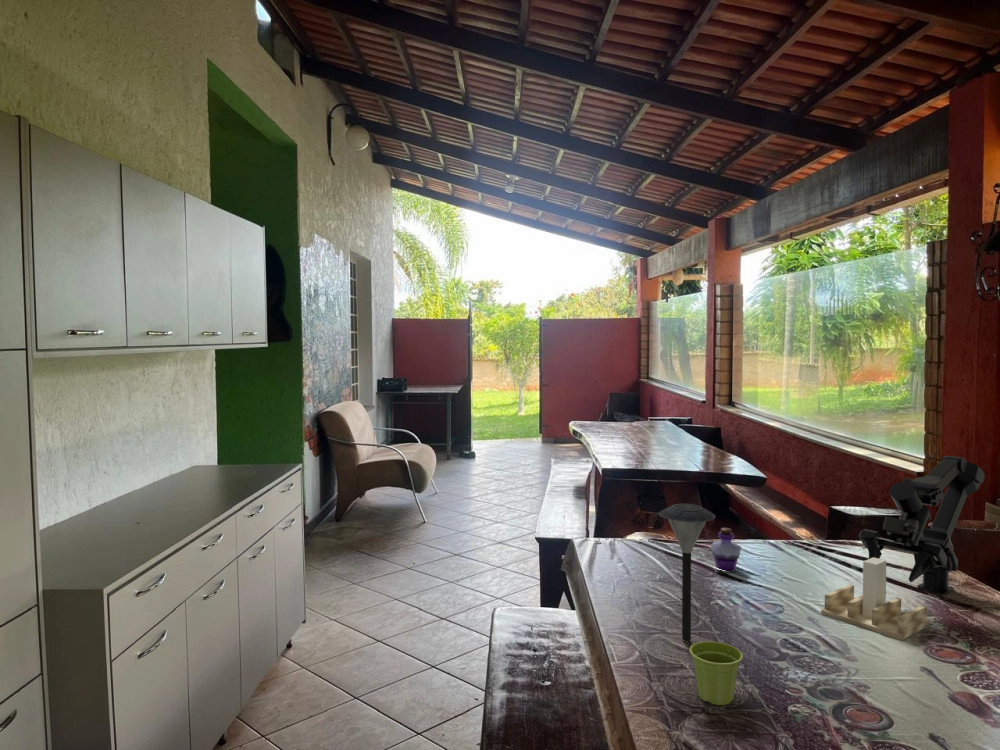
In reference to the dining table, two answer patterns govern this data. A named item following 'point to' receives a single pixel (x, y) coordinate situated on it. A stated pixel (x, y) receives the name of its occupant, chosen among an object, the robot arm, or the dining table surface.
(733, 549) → the potion bottle
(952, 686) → the dining table surface
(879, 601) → the cream rectangular block
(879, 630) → the ridged tan cradle
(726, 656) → the plant pot
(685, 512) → the solar garden light
